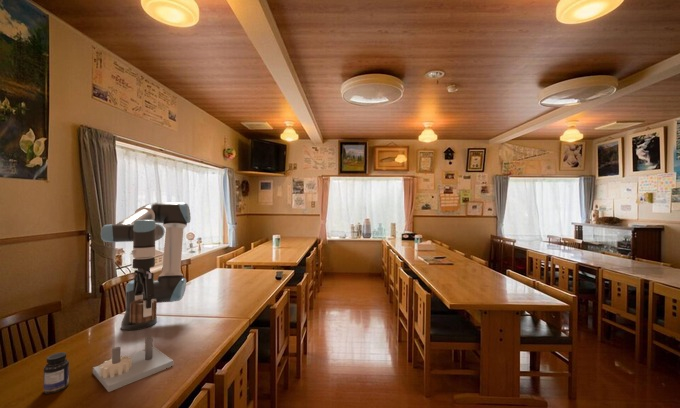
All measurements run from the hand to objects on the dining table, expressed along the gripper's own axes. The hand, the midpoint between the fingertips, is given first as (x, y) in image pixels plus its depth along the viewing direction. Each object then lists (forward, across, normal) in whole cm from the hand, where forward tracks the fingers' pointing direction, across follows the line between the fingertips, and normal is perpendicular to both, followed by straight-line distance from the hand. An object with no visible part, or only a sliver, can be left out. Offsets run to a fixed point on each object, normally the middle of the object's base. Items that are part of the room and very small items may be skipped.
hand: (142, 313), depth 118 cm
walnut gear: (+2, 0, 0) cm, 2 cm away
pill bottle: (+18, +1, -25) cm, 31 cm away
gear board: (+18, +7, -5) cm, 20 cm away
